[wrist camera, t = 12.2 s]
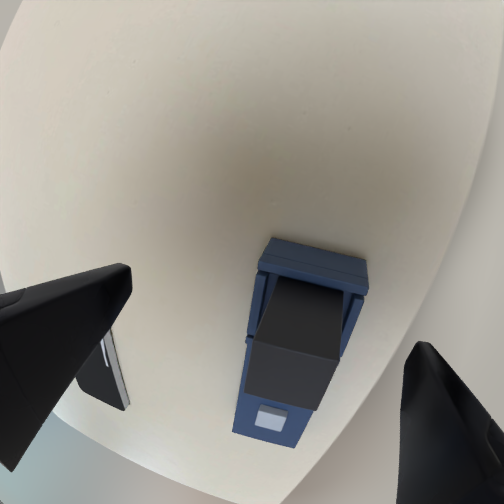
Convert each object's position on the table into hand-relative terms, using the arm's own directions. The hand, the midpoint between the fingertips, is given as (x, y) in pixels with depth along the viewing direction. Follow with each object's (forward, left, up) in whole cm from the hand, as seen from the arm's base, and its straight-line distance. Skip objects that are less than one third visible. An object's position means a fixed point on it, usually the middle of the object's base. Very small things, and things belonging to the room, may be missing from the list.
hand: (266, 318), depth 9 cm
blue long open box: (-1, +13, -12) cm, 18 cm away
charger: (-1, +6, -9) cm, 11 cm away
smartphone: (+20, +23, -12) cm, 33 cm away
